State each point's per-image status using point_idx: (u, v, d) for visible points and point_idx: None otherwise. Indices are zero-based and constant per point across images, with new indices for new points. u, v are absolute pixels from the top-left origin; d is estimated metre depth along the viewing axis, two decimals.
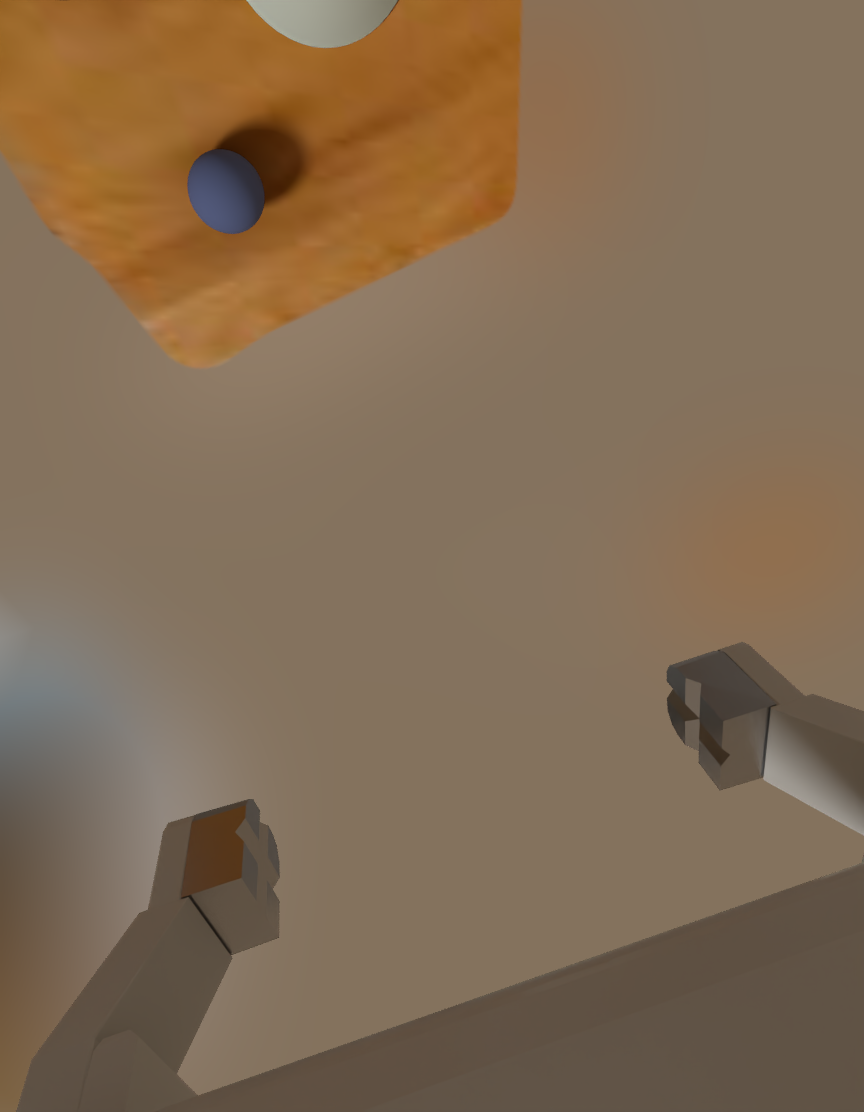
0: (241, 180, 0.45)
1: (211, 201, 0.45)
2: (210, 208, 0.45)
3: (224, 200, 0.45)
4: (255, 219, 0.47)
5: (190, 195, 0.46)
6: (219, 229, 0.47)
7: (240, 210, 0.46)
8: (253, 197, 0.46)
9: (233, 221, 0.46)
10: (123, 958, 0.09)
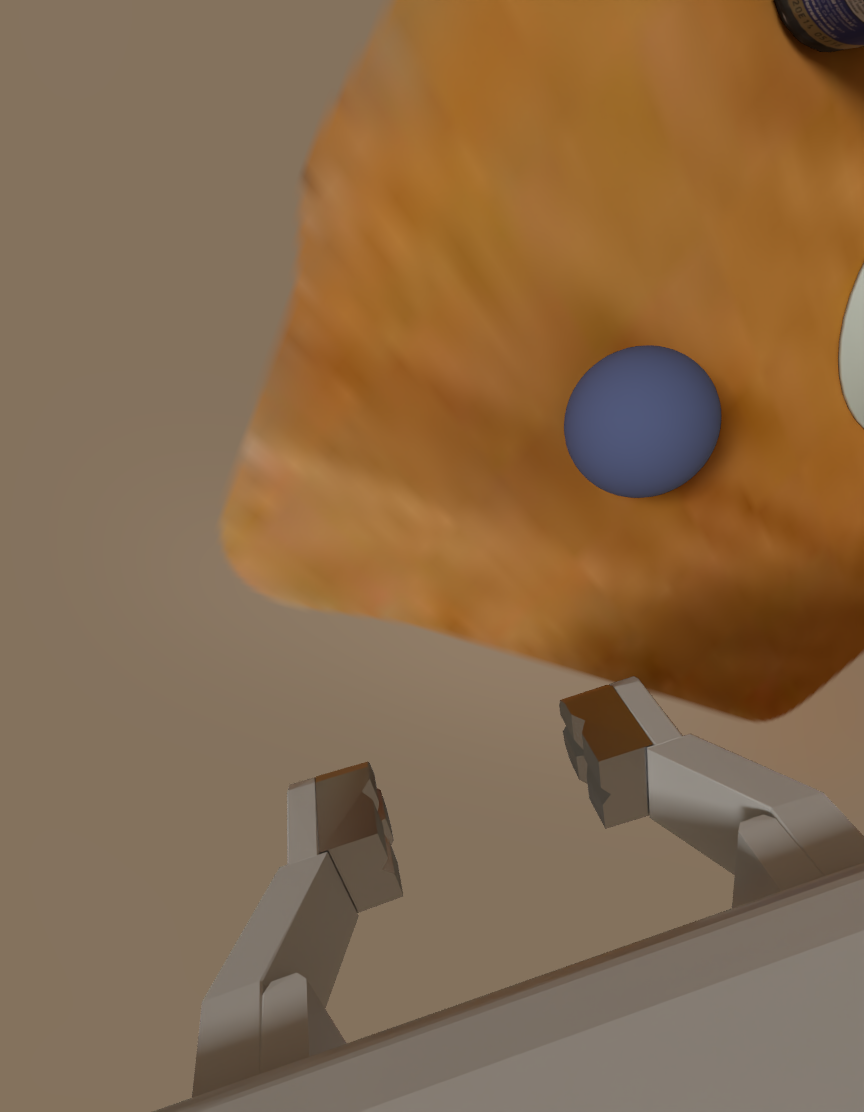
0: (716, 436, 0.22)
1: (665, 416, 0.20)
2: (649, 422, 0.21)
3: (684, 435, 0.21)
4: (653, 495, 0.23)
5: (619, 375, 0.21)
6: (602, 457, 0.22)
7: (678, 469, 0.21)
8: (698, 470, 0.22)
9: (650, 471, 0.21)
10: (274, 909, 0.09)
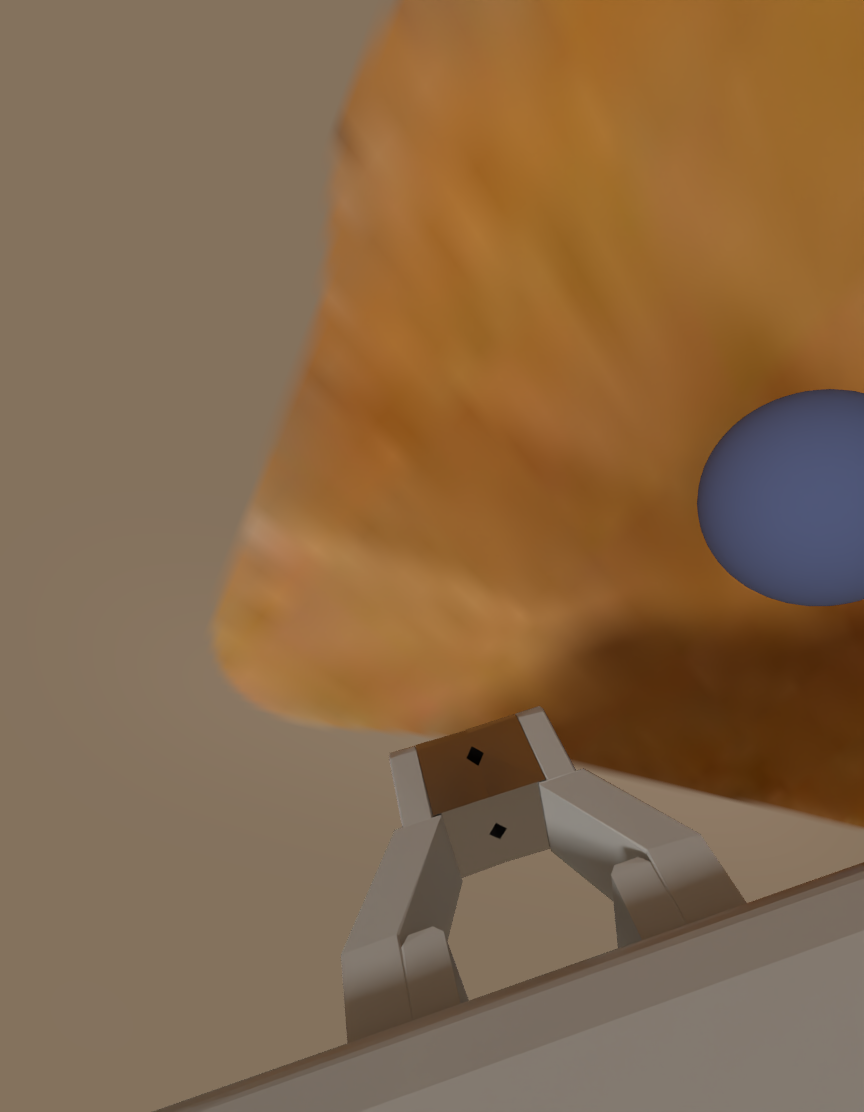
0: None
1: None
2: (860, 514, 0.13)
3: None
4: (833, 604, 0.16)
5: (806, 438, 0.14)
6: (773, 557, 0.15)
7: None
8: None
9: (848, 581, 0.14)
10: (397, 868, 0.09)
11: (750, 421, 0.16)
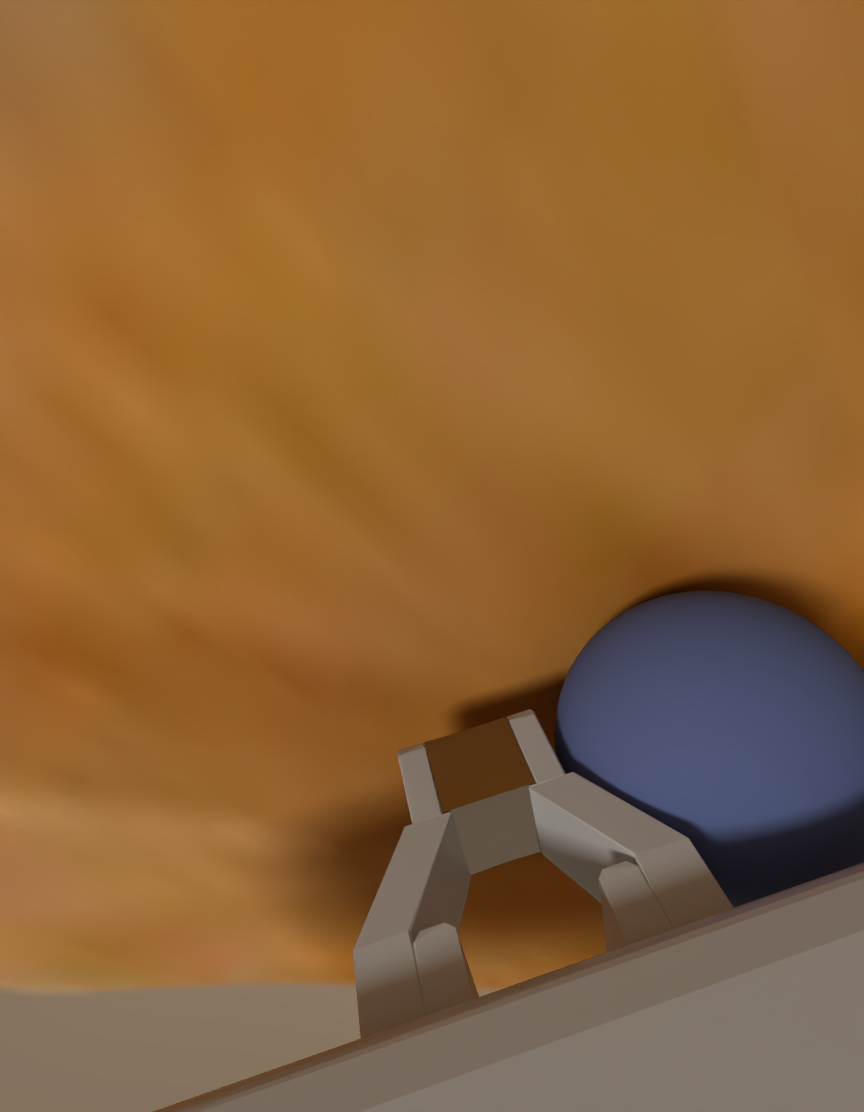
0: None
1: (820, 824, 0.09)
2: (786, 841, 0.09)
3: (859, 850, 0.09)
4: None
5: (691, 712, 0.09)
6: None
7: None
8: None
9: None
10: (408, 864, 0.09)
11: (610, 656, 0.10)
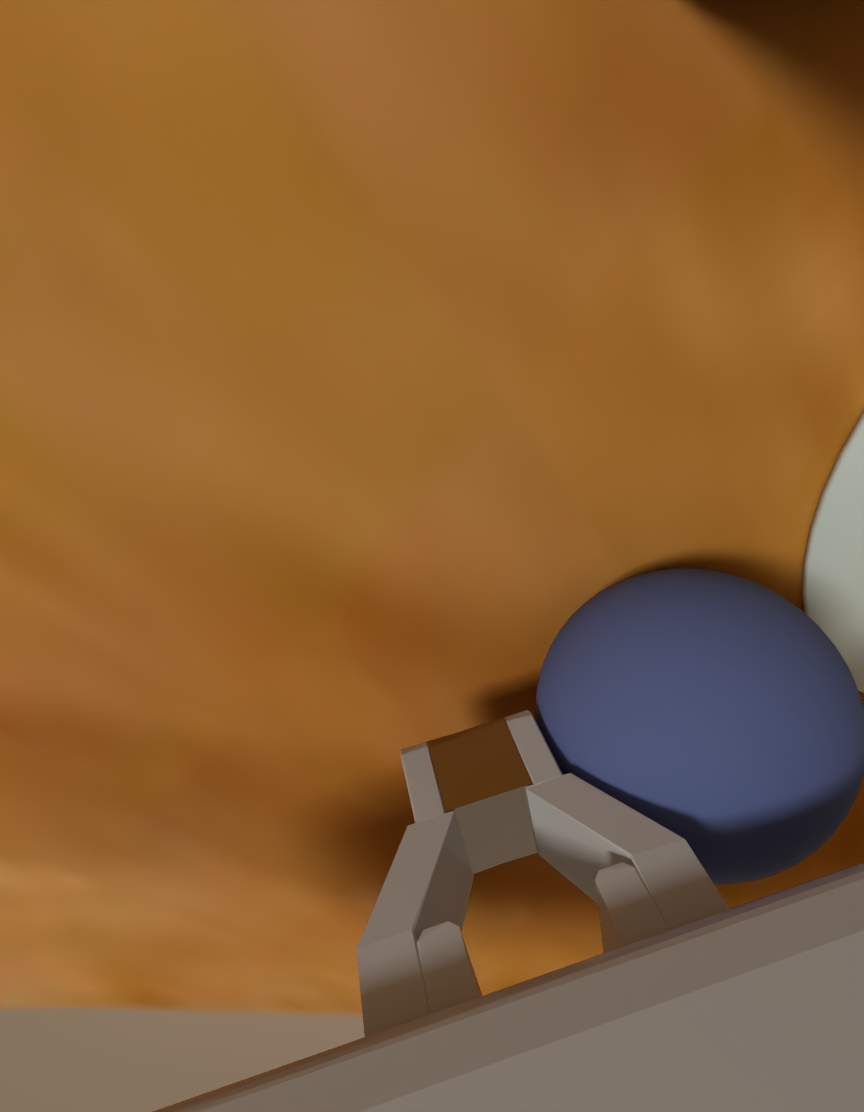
0: None
1: (856, 694, 0.10)
2: (860, 724, 0.10)
3: None
4: None
5: (759, 683, 0.09)
6: (814, 844, 0.09)
7: None
8: None
9: None
10: (411, 863, 0.09)
11: (638, 698, 0.09)
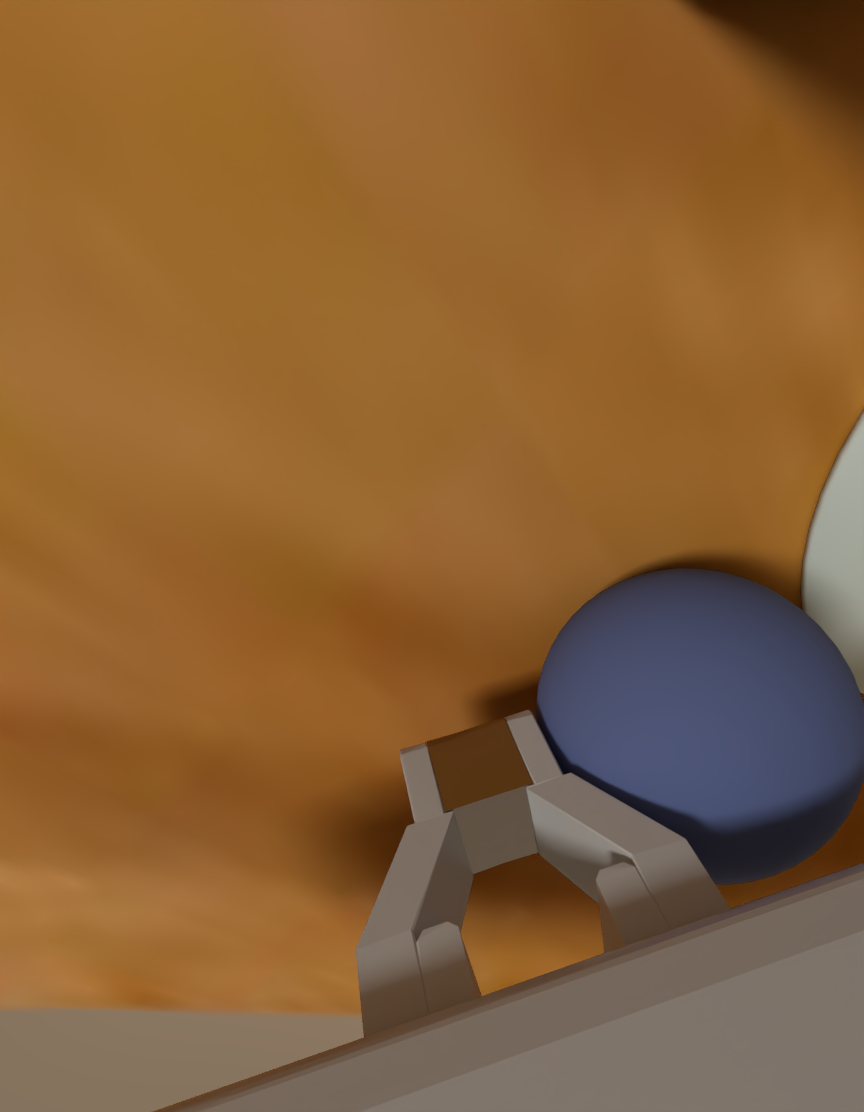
0: None
1: (858, 694, 0.10)
2: (861, 725, 0.10)
3: None
4: None
5: (760, 683, 0.09)
6: (815, 844, 0.09)
7: None
8: None
9: None
10: (410, 863, 0.09)
11: (639, 699, 0.09)
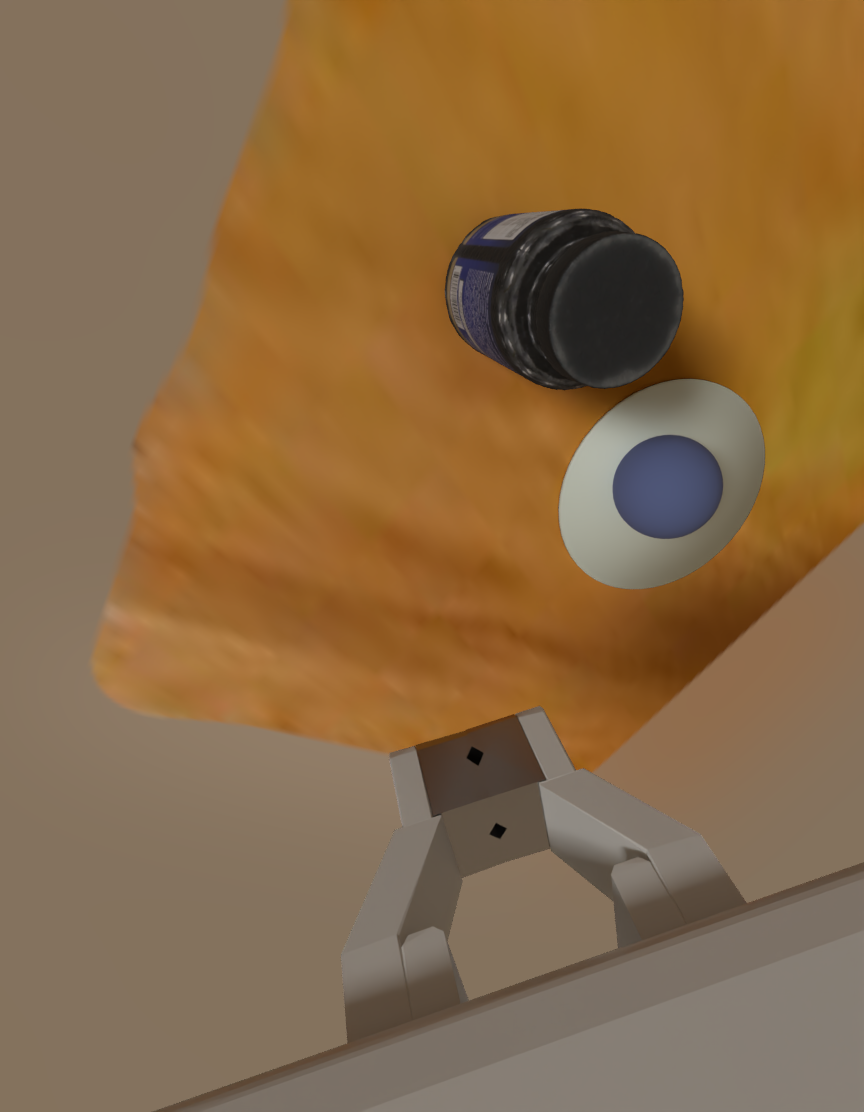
0: (650, 528, 0.32)
1: (614, 496, 0.33)
2: None
3: (620, 513, 0.33)
4: None
5: (624, 456, 0.33)
6: None
7: (631, 526, 0.34)
8: (654, 537, 0.33)
9: None
10: (397, 868, 0.09)
11: None
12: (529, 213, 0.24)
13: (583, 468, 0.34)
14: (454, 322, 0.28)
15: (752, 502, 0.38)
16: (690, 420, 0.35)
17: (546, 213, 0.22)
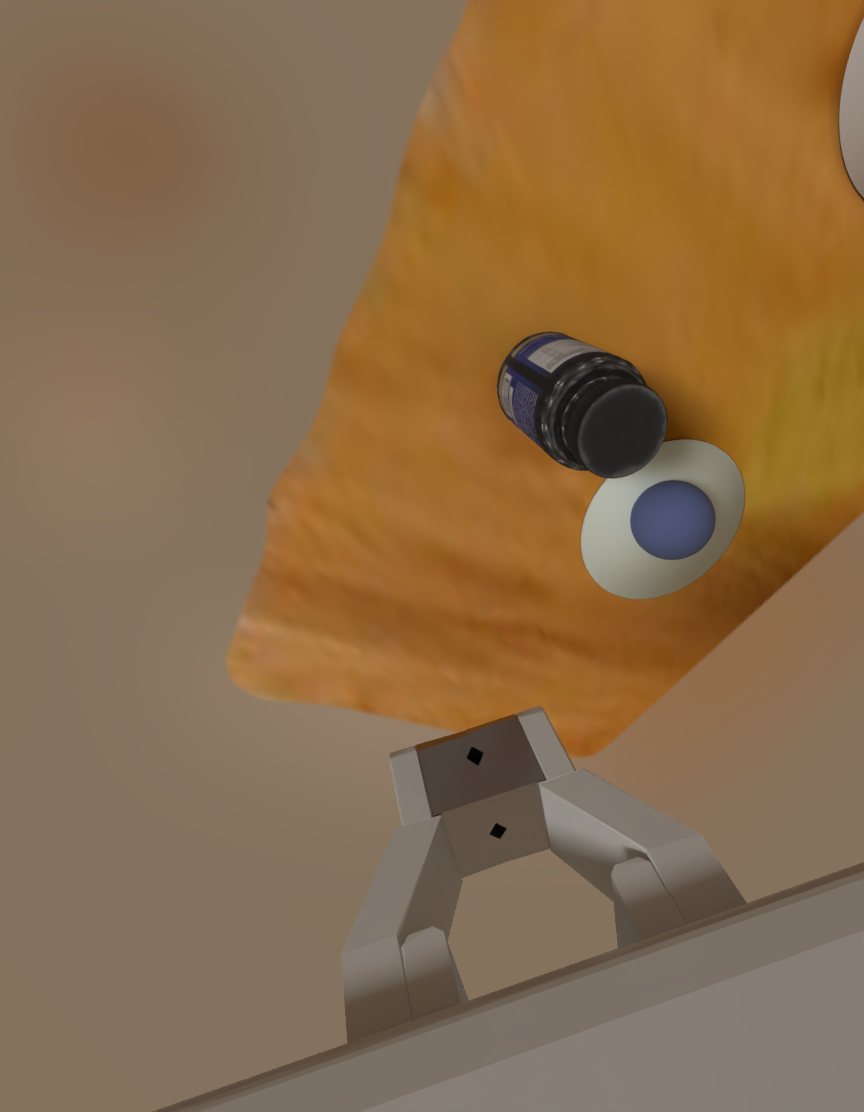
0: (667, 553, 0.42)
1: (634, 531, 0.43)
2: (631, 528, 0.43)
3: (641, 543, 0.43)
4: None
5: (638, 500, 0.43)
6: None
7: None
8: (668, 559, 0.43)
9: None
10: (397, 868, 0.09)
11: None
12: (561, 343, 0.34)
13: (600, 508, 0.44)
14: (504, 409, 0.38)
15: (735, 530, 0.48)
16: (684, 470, 0.44)
17: (574, 353, 0.32)
